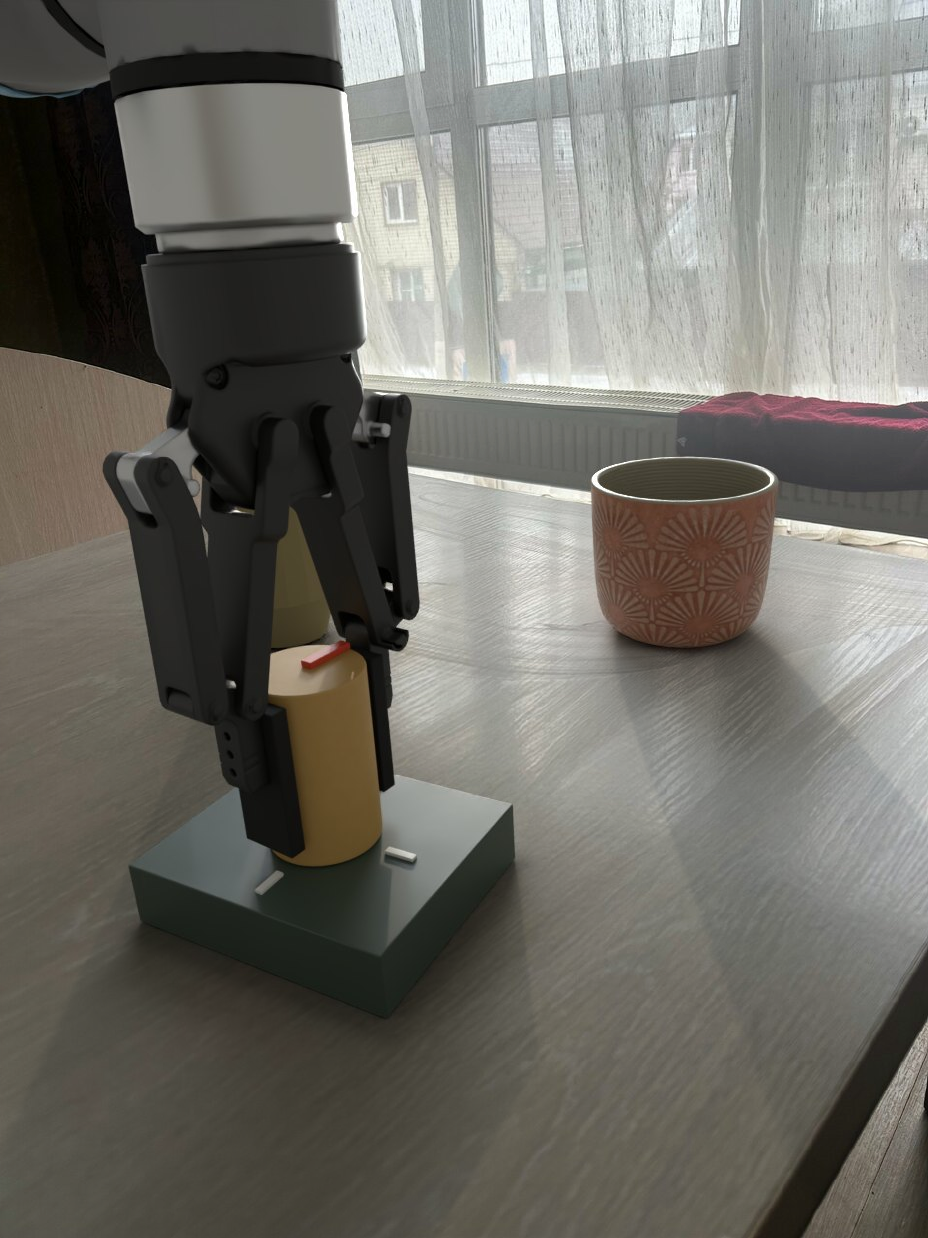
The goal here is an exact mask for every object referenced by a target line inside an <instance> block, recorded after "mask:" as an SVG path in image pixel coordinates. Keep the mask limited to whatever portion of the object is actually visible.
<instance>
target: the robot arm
mask: <svg viewBox="0 0 928 1238" xmlns="http://www.w3.org/2000/svg"><path fill="white" fill-rule="evenodd" d="M338 3H339V1H338V0H0V95H1V96H4V97H5V96H6V97H10V98H21V99H29V98H36V97H37V98H38V97H43V96H47V97H48V96H49V97H53V98H56V99H62V98H66V97H70V96H75V95H78V94H81V92H83V90H85V89H93V88H95V87H97V86H98V85H99V84H102V83H106V82H110V88H111V96H112V100H113V101H114V103H113V104H114V105H113V106H114V110H115V111H114V112H115V116H116V121H117V122H116V123H117V128H118V134H119V139H120V145H121V150H122V157H123V163H124V170H125V175H126V181H127V186H128V191H129V198H130V205H131V210H132V215H133V222H134V227H135V228H136V229H138V231H140V232H142V233H143V234H144V235H154V236H155V239H156V240H155V242H156V247H157V251H158V252H159V253H153V254H146V256H145V260H146V263H145V264H141V265H140V268H141V273H142V279H143V286H144V290H145V297H146V303H147V309H148V315H149V321H150V326H151V331H152V332H151V333H152V339H153V344H154V349H155V352H156V354H157V356H158V357H159V359H160V360H161V361H162V363H163V365H164V367H165V369H166V371H167V373H168V375H169V378H170V383H171V390H170V391H171V393H170V400H169V405H168V408H167V412H166V419H165V424H166V429H165V430H164V431H162V433H160V434H158V435H157V436H156V437H154V438H153V439H151V440H150V441H148V442H147V443H146V444H144V445H143V446H141V447H140V448H139V449H137V450H136V451H126V450H114V451H111V452H109V453H108V454H107V456H105V458H104V460H103V462H102V474H103V477H104V479H105V482H106V483H107V485H108V487H109V489H110V490H111V492H112V494H113V496H114V498H115V500H116V502H117V503H118V505H119V507H120V509H121V510H122V512H123V515H124V516H125V518H126V520H127V524H128V530H129V536H130V541H131V547H132V553H133V559H134V563H135V569H136V570H135V571H136V573H137V574H136V576H137V580H138V587H139V591H140V597H141V602H142V603H141V604H142V608H143V614H144V620H145V625H146V630H147V631H146V632H147V637H148V642H149V647H150V653H151V659H152V665H153V670H154V671H153V672H154V676H155V681H156V682H155V683H156V688H157V692H158V693H157V694H158V698H159V703H160V706H161V707H162V708H163V709H164V710H167V711H169V712H172V713H175V714H177V715H180V716H183V717H186V718H188V719H191V720H193V721H196V722H199V723H202V724H205V725H207V726H211V727H213V729H214V733H215V734H214V735H215V739H216V744H217V746H216V747H217V752H218V756H219V757H218V758H219V762H220V768H221V774H222V778H223V779H224V780H225V781H226V783H227V784H228V785H229V786H232V787H233V788H234V787H236V788H239V794H240V800H241V806H242V812H243V818H244V824H245V830H246V836H247V839H250V840H252V841H254V842H256V843H258V844H261V845H263V846H265V847H267V848H270V849H272V850H274V851H276V852H278V853H281V854H283V855H285V856H287V857H289V858H292V859H293V858H294V857H296V856H297V855H298V854H300V853H301V852H303V851H304V850H305V842H304V835H303V828H302V821H301V814H300V806H299V799H298V792H297V785H296V778H295V771H294V763H293V756H292V749H291V742H290V735H289V728H288V720H287V713H286V708H283V707H280V706H277V705H274V704H271V703H268V689H269V673H270V657H271V654H272V648H271V641H272V624H273V608H274V592H275V575H276V559H277V545H278V542H279V540H281V539H282V538H283V537H285V535H286V534H287V531H288V522H289V507H291V508H292V509H294V510H295V512H296V514H297V516H298V519H299V522H300V525H301V528H302V531H303V534H304V537H305V540H306V543H307V546H308V548H309V551H310V554H311V557H312V560H313V563H314V566H315V569H316V572H317V575H318V578H319V581H320V584H321V587H322V589H323V592H324V595H325V598H326V601H327V604H328V607H329V610H330V613H331V616H330V617H331V618H332V622H333V624H334V627H335V630H336V633H337V635H338V637H340V638H343V639H345V642H349V643H350V649H351V650H353V651H356V652H357V653H359V654H360V655H361V656H362V657H363V658H364V659H365V661H366V666H367V675H368V685H369V695H370V705H371V714H372V724H373V734H374V744H375V753H376V763H377V773H378V783H379V791H382V792H385V791H387V790H388V789H390V788H391V787H392V786H394V785H395V780H394V774H395V772H394V771H395V770H394V762H393V761H394V759H393V751H392V740H391V729H390V728H391V727H390V720H389V717H390V716H389V709H390V708H391V707H392V702H393V696H394V693H393V692H394V691H393V684H392V676H391V675H392V672H391V660H390V651H392V652H396V653H398V652H399V653H400V652H402V651H403V650H404V649H405V648H406V647H407V645H408V643H409V639H410V631H409V630H408V629H405V628H401V627H398V626H399V625H400V624H401V622H402V621H403V620H406V621H413V620H414V619H416V617H417V615H419V612H420V609H421V608H420V605H421V602H420V600H421V599H420V589H419V578H418V568H417V556H416V546H415V545H416V544H415V533H414V523H413V511H412V499H411V490H410V478H409V477H410V476H409V466H408V454H407V450H408V442H409V435H410V426H411V419H412V412H413V411H412V410H413V408H412V407H413V406H412V405H413V404H412V402H411V399H410V397H409V396H408V395H406V394H405V393H389V392H377V391H376V392H375V391H370V390H366V389H364V387H363V383H362V381H361V378H360V377H359V374H358V372H357V370H356V368H355V366H354V362H353V357H352V353H353V352H356V351H358V350H359V349H360V348H361V347H363V345H364V344H365V342H366V340H367V338H368V324H367V323H368V322H367V313H366V302H365V290H364V279H363V278H364V277H363V268H362V256H361V251H359V250H355V245H354V243H353V242H351V241H350V242H343V241H344V235H343V229H342V224H351V223H353V221H354V220H355V219H356V218H357V216H358V215H359V208H358V200H357V188H356V178H355V170H354V158H353V150H352V149H353V148H352V140H351V139H352V138H351V129H350V119H349V118H350V117H349V108H348V100H347V93H345V91H346V89H345V88H346V87H345V77H344V69H343V68H344V65H343V64H344V63H343V53H342V39H341V28H340V27H341V26H340V16H339V15H340V13H339V4H338ZM193 468H194V469H195V470H196V471H197V472H198V474H199V475H200V476H201V483H200V482H199V481H198V480H197V479H196V478H195V479H194V477H193ZM200 491H201V493H200ZM199 494H200V511H199V509H198V507H197V504H196V502H195V500H194V498H195V497H197V496H198V495H199ZM236 507H239V508H244V509H250V510H255V511H254V514H250V513H245V512H240V511H238V510H237V508H236ZM199 512H200V513H199ZM204 530H205V531H206V533H207V547H206V540H205V534H204ZM387 583H388V584H392V588H389V587H386V586H387Z"/></svg>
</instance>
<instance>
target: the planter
mask: <svg viewBox="0 0 928 1238" xmlns="http://www.w3.org/2000/svg"><path fill="white" fill-rule="evenodd" d="M778 489H779V479H778V476H777V475H776V473H774V472H772V471H771V470H769V469H768V468H765V467H763V466H759V465H756V464H753V463H749V462H744V461H739V460H734V459H725V458H718V457H717V458H715V457H714V458H713V457H701V456H700V457H699V456H698V457H697V456H675V457H674V456H673V457H656V458H655V457H653V458H645V459H638V460H630V461H626V462H622V463H617V464H614V465H610V466H608V467H605V468H603V469H601V470H599V471H597V472H596V473H595V474H594V475H593V476H592V477H591V479H590V501H591V502H590V503H591V525H592V527H591V529H592V530H591V531H592V552H593V566H594V579H595V587H596V595H597V600H598V604H599V608H600V610H601V613H602V615H603V617H604V618H605V620H606V621H607V622H608V624H609V625H610V626H611V627H612V628H613V629H615V630H616V631H617V632H619V633H620V634H622V635H624V636H626V637H627V638H630V639H632V640H634V641H638V642H641V643H644V644H648V645H653V646H658V647H666V648H681V649H682V648H687V649H688V648H702V647H708V646H713V645H717V644H721V643H725V642H728V641H730V640H733V639H734V638H736V637H739V636H740V635H741V634H743V633H745V632H747V630H748V629H749V628H750V627H751V626H752V625H753V624H754V623H755V621H756V620H757V618H758V617H759V614H760V612H761V609H762V606H763V603H764V598H765V595H766V590H767V585H768V579H769V572H770V564H771V557H772V549H773V548H772V547H773V541H774V540H773V539H774V531H775V520H776V510H777V500H778V492H779V491H778Z"/></svg>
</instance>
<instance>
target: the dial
mask: <svg viewBox="0 0 928 1238" xmlns="http://www.w3.org/2000/svg"><path fill="white" fill-rule="evenodd" d="M268 703H271V704H274V705H277V706H280V707H283V708H286V713H287V720H288V728H289V735H290V742H291V749H292V756H293V763H294V771H295V778H296V785H297V792H298V799H299V806H300V814H301V821H302V828H303V835H304V842H305V850H304V851H303V852H301V853H300V854H298V855H297V856H296V857H294V858H293V859H292V858H289V857H287V856H285V855H283V854H281V853H278V852H276V851H274V850H273V852H274V853H275V854H276V855H277V856H278V857H280V858H281V859H283V860H285V861H287V862H290V863H292V864H296V865H302V866H328V865H334V864H338V863H342V862H345V861H348V860H351V859H353V858H355V857H357V856H359V855H361V854H363V853H364V852H366V851H367V850H369V849H370V848H371V847H372V846H373V845H374V844H375V843H376V842H377V840H378V839H379V837H380V835H381V833H382V828H383V822H382V812H381V802H380V792H379V783H378V773H377V763H376V753H375V744H374V734H373V724H372V714H371V705H370V695H369V685H368V675H367V666H366V661H365V659H364V658H363V657H362V656H361V655H360V654H359V653H357V652H356V651H353V650H351V649H350V643H349V642H346V640H345V641H344V640H338V641H335V642H334V643H332V644H329V645H328V644H310V645H300V646H294V647H288V648H286V649H282V650H279V651H276V652H271V657H270V673H269V689H268Z"/></svg>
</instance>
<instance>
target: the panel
mask: <svg viewBox="0 0 928 1238" xmlns="http://www.w3.org/2000/svg"><path fill="white" fill-rule="evenodd" d="M394 780H395V785H394V786H392V787H391V788H390V789H388V790H387V791H385V792H382V791H379V792H380V802H381V812H382V822H383V828H382V833H381V835H380V837H379V839H378V840H377V842H376V843H375V844H374V845H373V846H372V847H371V848H370V849H369V850H367V851H366V852H364V853H363V854H361V855H359V856H357V857H355V858H353V859H351V860H348V861H345V862H342V863H338V864H334V865H328V866H302V865H296V864H292V863H290V862H287V861H285V860H283V859H281V858H280V857H278V856H277V855H276V854H275V853H274V852H273V850H272V849H270V848H267V847H265V846H263V845H261V844H258V843H256V842H254V841H252V840H250V839H247V836H246V830H245V824H244V818H243V812H242V806H241V800H240V794H239V788H236V787H234V786H233V788H232V789H230V790H229V791H227V792H226V793H225V794H223V795H222V796H221V797H219V798H218V799H216V800H215V801H213V802H212V803H210V805H208V806H207V807H206V808H204V809H203V810H202V811H200V812H199V813H197V814H196V815H195V816H193V817H192V818H190V819H189V820H188V821H186V822H185V823H184V824H182V825H181V826H180V827H178V828H177V829H175V830H174V831H173V832H171V833H170V834H169V835H167V836H166V837H164V838H163V839H162V840H161V841H159V842H158V843H157V844H156V845H153V846H152V847H151V848H149V850H147V851H145V852H144V853H143V854H141V855H140V856H139V857H138V858H136V859H135V860H133V861H132V862H131V863H129V864H128V866H127V867H128V871H129V875H130V880H131V884H132V889H133V893H134V898H135V903H136V907H137V911H138V916H139V919H140V921H141V922H142V923H145V924H147V925H149V926H153V927H155V928H157V929H160V930H162V931H165V932H167V933H170V934H172V935H175V936H177V937H180V938H181V939H185V940H187V941H190V942H192V943H194V944H197V945H200V946H203V947H204V948H208V949H209V950H211V951H215V952H217V953H220V954H222V955H225V956H227V957H230V958H232V959H235V960H238V961H240V962H243V963H245V964H247V965H250V966H252V967H255V968H258V969H261V970H262V971H264V972H265V971H266V972H267V973H270V974H273V975H275V976H278V977H280V978H282V979H285V980H288V981H291V982H293V983H295V984H298V985H300V986H303V987H306V988H307V989H310V990H313V991H315V992H318V993H321V994H323V995H325V996H328V997H331V998H333V999H336V1000H339V1001H341V1002H343V1003H345V1004H349V1005H350V1006H353V1007H356V1008H358V1009H361V1010H363V1011H365V1012H368V1013H371V1014H373V1015H375V1016H379V1017H381V1018H384V1019H388V1018H389V1017H390V1016H391V1015H392V1013H393V1012H394V1011H395V1010H396V1008H397V1007H398V1006H399V1005H400V1003H401V1002H402V1001H403V999H404V998H405V997H406V996H407V995H408V993H409V992H410V991H411V990H412V988H414V986H415V984H416V983H417V982H418V981H419V980H420V978H421V977H422V976H423V974H424V973H425V972H426V971H427V969H428V968H429V967H430V966H431V964H432V963H433V962H434V961H435V959H436V958H437V957H438V956H439V954H440V953H441V952H442V951H443V949H444V948H445V947H446V946H447V944H448V943H449V942H450V940H451V939H452V938H453V937H454V935H455V934H456V933H457V932H458V930H459V929H460V928H461V927H462V925H463V924H464V923H465V922H466V920H467V919H469V917H470V916H471V914H472V913H473V912H474V910H475V909H476V908H477V907H478V906H479V905H480V904H481V902H482V901H483V899H484V898H485V897H486V896H487V894H488V893H489V892H490V891H491V889H492V888H493V887H494V886H495V884H496V883H497V882H498V880H500V878H501V877H502V876H503V874H505V872H506V870H507V869H508V868H509V866H510V865H511V864H512V863H513V862H514V861H515V859H516V848H515V847H516V844H515V822H514V821H515V820H514V804H513V803H510V802H505V801H503V800H502V801H501V800H497V799H493V798H491V797H490V798H489V797H486V796H481V795H479V794H478V795H477V794H474V793H471V792H466V791H462V790H459V789H455V788H450V787H446V786H443V785H438V784H435V783H431V782H427V781H422V780H419V779H415V778H412V777H407V776H403V775H399V774H395V773H394Z"/></svg>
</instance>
